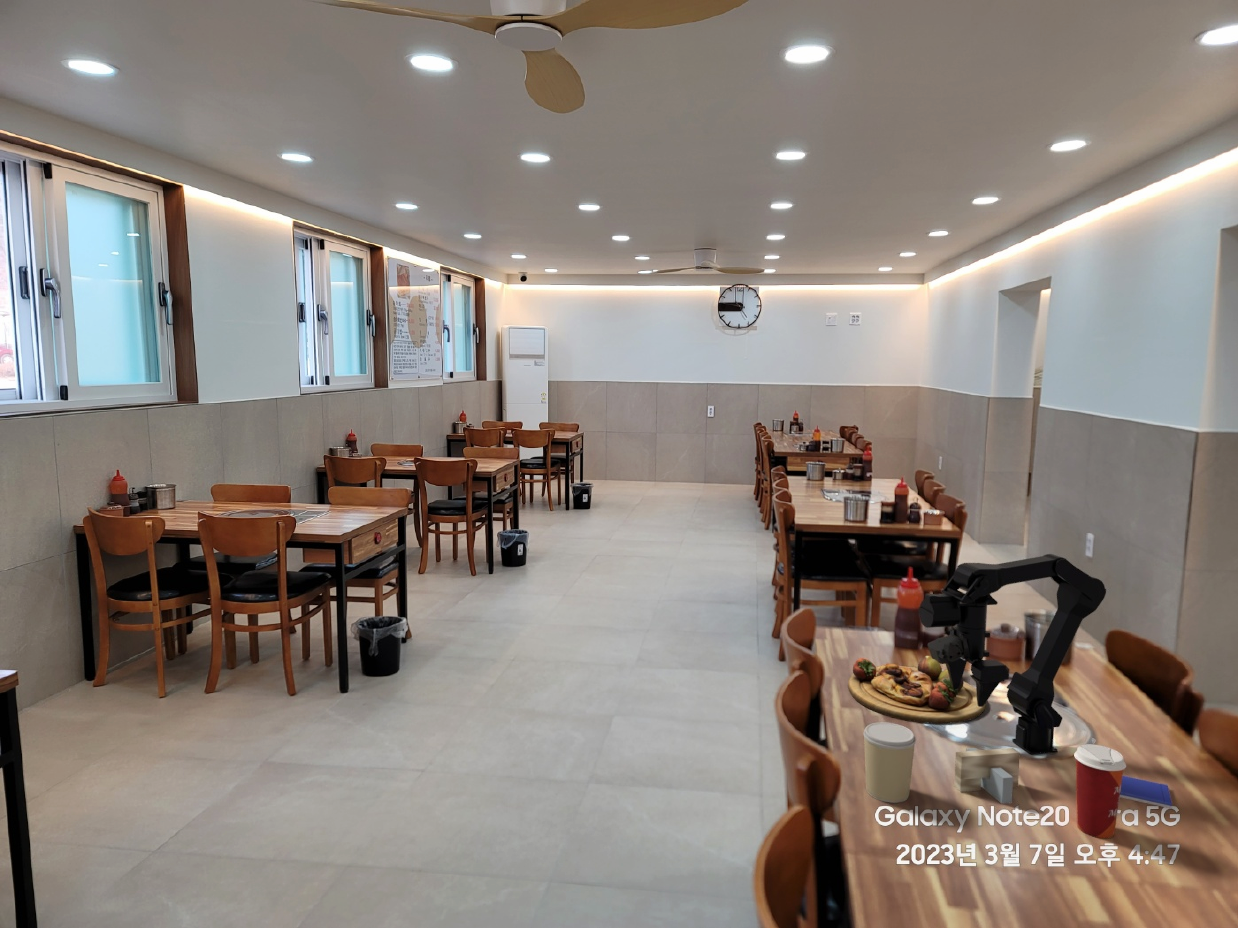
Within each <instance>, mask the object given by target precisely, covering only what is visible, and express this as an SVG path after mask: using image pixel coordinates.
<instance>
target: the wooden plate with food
mask: <svg viewBox="0 0 1238 928" xmlns="http://www.w3.org/2000/svg"><path fill="white" fill-rule="evenodd" d="M847 690H848V692H849V693H850V695H851V696H852V698H853V699H854V700H855V701H857V702H858V703H859V704H860V705H862V706H864V707H865V708H867V709H870V710H872V711H873V712H876V713H878V714H881V715H884V716H887V717H890V718H895V719H897V720H902V721H907V722H908V721H909V722H915V723H922V724H923V723H924V724H934V723H935V724H937V725H938V724H941V725H942V724H943V725H944V724H946V725H947V724H956V723H958V724H959V723H963V722H968V721H971V720H973V719H976V718H977V716H978V717H980V716H981V715H982V714H983V713H982V712H985V709H986V703H987V702H986V703H985V705H984V706H983V707H979V706H978V704H977V692H976V687H974V686H973V685H971V684H970V683H968V682H966V681H964V679H963V677H962V680H961V683H960V685H959V688H958V689H953V688H952V684H951V681H950V677H949V674H948V670H947V668H946V669H943V668H942V666H941V664H940V663H938V661H936V660H935V659H932V657H931V655H925V656H924V657H922V659H920V661H919V662H918V664H917V667H914V666H905V665H904V666H902V665H898V664H894V663H886V664H882V665H879V666H876V665H875V664H874V662H872V661H870V660H869V659H867V658H864V657H861V658H858V659H856V661H855V663H854V665H853V667H852V675H851V676H850V678H849V679H848V682H847ZM980 714H981V715H980ZM970 719H971V720H970Z"/></svg>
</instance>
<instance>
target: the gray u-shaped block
mask: <svg viewBox="0 0 1238 928" xmlns="http://www.w3.org/2000/svg"><path fill="white" fill-rule="evenodd" d="M978 750H979V749H978V748H976V747H967V748H965V751H978ZM981 788H983V790H985V791H986V792H987V793H989V795H991V796H992V797H993V798H994V799H996V801H998V802H999V803H1000V804H1001V805H1003V804H1004V805H1005V804H1012V803H1013V791H1014V790H1013V789H1014V788H1013V777H1012V776H1011V775H1010V774H1008V773H1007V772H1006V771H1004V770H1003V769H1002V768H1001V767H1000V768H991V774H990V777H987V778H981Z"/></svg>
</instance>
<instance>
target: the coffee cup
mask: <svg viewBox="0 0 1238 928" xmlns="http://www.w3.org/2000/svg"><path fill="white" fill-rule="evenodd" d="M863 737H864V738H863V739H864V741H863V742H864V744H863V745H864V765H865V766H864V769H865V786H866V787H865V788H866V792H867V793H868V795H870V797H872V798H874V799H876V800H878V801H880V802H884V803H885V802H886V803H890V804H891V803H892V804H896V803H903V802H905V801H906V800H908V799H909V796H910V788H911V782H912V781H911V780H912V773H913V772H912V771H913V764H914V756H915V755H914V754H915V745H916V740H917V739H916V737H915V734H914V732H913V731H912V730H911V729H909V728H908V727H906V726H904V725H901V724H897V723H893V722H888V721H887V722H886V721H884V722H883V721H882V722H881V721H880V722H873V723H870V724H868V725H867V726H866V727H865V728H864V730H863Z"/></svg>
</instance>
